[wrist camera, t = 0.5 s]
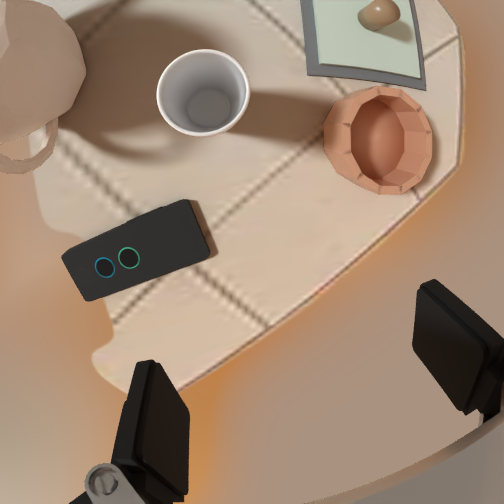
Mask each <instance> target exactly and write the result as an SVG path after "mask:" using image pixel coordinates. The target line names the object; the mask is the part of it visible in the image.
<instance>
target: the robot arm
mask: <svg viewBox="0 0 504 504" xmlns="http://www.w3.org/2000/svg"><path fill="white" fill-rule="evenodd" d="M412 346H413V350H414V352H415V353H416V354H417V356H418V357H419V358H420V360H421V361H422V362H423V363H424V365H425V366H426V367H427V369H428V370H429V372H430V373H431V374H432V375H433V377H434V378H435V380H436V381H437V382H438V384H439V385H440V386H441V388H442V389H443V390H444V392H445V393H446V394H447V396H448V397H449V399H450V400H451V401H452V403H453V404H454V406H455V407H456V408H457V410H459V411H463V413H464V414H465V415H468V414H469V413H471V412H472V411H474V410H476V409H478V411H479V412H480V418H479V425H478V428H476V429H475V430H473V431H472V432H470V433H468V434H467V435H465V436H464V437H462V438H460V439H459V440H457V441H455V442H454V443H453V444H450V445H449V446H447V447H445V448H443V449H442V450H440V451H438V452H436V453H434V454H432V455H431V456H429V457H427V458H425V459H423V460H421V461H419V462H417V463H415V464H413V465H411V466H409V467H406V468H404V469H402V470H400V471H398V472H395V473H393V474H391V475H389V476H386V477H384V478H381V479H379V480H376V481H374V482H371V483H369V484H366V485H363V486H361V487H358V488H355V489H352V490H349V491H346V492H343V493H340V494H337V495H334V496H330V497H327V498H324V499H320V500H316V501H312V502H309V503H304V504H504V338H502V337H501V336H500V335H499V334H498V333H497V332H496V331H495V330H494V329H493V328H492V327H491V326H490V325H488V324H487V323H486V322H485V321H484V320H483V319H482V318H481V317H480V316H479V315H478V314H476V313H475V312H474V311H473V310H472V309H471V308H470V307H468V306H467V305H466V304H465V303H463V301H461V300H460V299H459V298H458V297H457V296H456V295H454V294H453V293H452V292H451V291H450V290H448V289H447V288H446V287H445V286H444V285H442V284H441V283H440V282H439V281H437V280H436V279H432V280H430V281H427V282H425V283H422V284H421V285H420V289H418V291H417V298H416V311H415V322H414V332H413V341H412ZM189 427H190V414H189V411H188V408H187V406H186V405H185V403H184V402H183V400H182V399H181V397H180V395H179V394H178V392H177V391H176V389H175V387H174V386H173V384H172V382H171V381H170V379H169V377H168V376H167V374H166V372H165V371H164V369H163V367H162V366H161V364H160V363H156V362H155V361H154V360H146V361H140V362H137V363H136V366H135V370H134V374H133V377H132V381H131V385H130V389H129V393H128V397H127V400H126V401H125V403H124V406H123V409H122V413H121V417H120V422H119V426H118V431H117V436H116V440H115V444H114V449H113V454H112V459H111V464H109V463H103V464H98V465H96V466H94V467H93V468H92V469H91V470H90V471H89V472H88V474H87V475H86V479H85V489H86V491H85V492H84V493H83V494H81V495H80V496H78V497H77V498H76V499H74V500H73V501H72V502H70V503H69V504H173V502H184V495H187V494H188V475H189V474H188V470H189V429H190V428H189Z"/></svg>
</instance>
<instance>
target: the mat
mask: <svg viewBox="0 0 504 504" xmlns="http://www.w3.org/2000/svg"><path fill="white" fill-rule="evenodd" d="M300 2H301V11H302V20H303V30H304V40H305V51H306V64H307V75H312V76H328V77H340V78H351V79H360V80H368V81H375V82H382V83H388V84H394V85H400V86H406V87H411V88H416V89H421V90H426V86H425V74H424V64H423V55H422V48H421V41H420V34H419V28H418V22H417V17H416V12H415V7H414V2H413V0H409V3H410V8H411V13H412V18H413V24H414V30H415V36H416V43H417V51H418V59H419V68H420V78H418V79H417V78H412V77H407V76H402V75H397V74H392V73H386V72H380V71H374V70H368V69H360V68H352V67H344V66H334V65H322V64H319V56H318V45H317V35H316V25H315V17H314V8H313V0H300Z"/></svg>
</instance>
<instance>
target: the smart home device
mask: <svg viewBox="0 0 504 504" xmlns="http://www.w3.org/2000/svg"><path fill="white" fill-rule="evenodd" d="M209 255H210V250H209V247H208V245H207V243H206V240H205V238H204V236H203V233H202V231H201V228H200V226H199V224H198V221H197V219H196V216H195V214H194V211H193V209H192V207H191V204H190V202H189V200H187V199H183V200H179V201H177V202H174V203H172V204H169V205H167V206H164V207H159V208H157V209H155V210H152V211H150V212H147V213H145V214H143V215H140V216H138V217H136V218H134V219H131V220H129V221H127V223H124V224H122V225H120V226H118V227H116V228H113V229H111V230H109V231H107V232H105V233H102V234H100V235H98V236H96V237H94V238H92V239H90V240H87V241H85V242H82V243H80V244H78V245H76V246H74V247H72V248H70V249H68V250H67V251H66V252H65V253H64V254H63V255H62V257H61V258H62V260H63V262H64V264H65V266H66V268H67V270H68V272H69V273H70V275H71V277H72V279H73V280H74V282H75V284H76V286H77V288H78V289H79V291H80V293H81V294H82V296H83V298H84V299H85V301H93V300H96V299H99V298H102V297H104V296H107V295H110V294H112V293H115V292H118V291H120V290H123V289H126V288H128V287H131V286H134V285H137V284H139V283H142V282H145V281H148V280H150V279H153V278H156V277H158V276H161V275H164V274H167V273H169V272H172V271H175V270H178V269H180V268H183V267H186V266H189V265H191V264H194V263H197V262H200V261H202V260H205V259H206V258H208V257H209Z"/></svg>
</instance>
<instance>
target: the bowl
mask: <svg viewBox="0 0 504 504" xmlns="http://www.w3.org/2000/svg"><path fill="white" fill-rule="evenodd" d="M323 135H324V151H325V153H326V155H327V157H328V158H329V160H330V162H331V164H332V165H333V167H334V169H335V171H336V173H338V174H339V175H341V176H343V177H344V178H346V179H348V180H349V181H351V182H352V183H354V184H356V185H358V186H360V187H362V188H364V189H367V190H369V191H371V192H374V193H376V194H378V195H380V194H403V193H404V192H405V191H407V190H408V189H410V188H411V187H413V186H414V185H415V184H417V183H418V182H420V181H421V179H422V177H423V175H424V173H425V171H426V169H427V167H428V165H429V163H430V161H431V159H432V130H431V127H430V125H429V123H428V120H427V118H426V116H425V113H424V111H423V109H422V107H421V106H420V105H419V104H418V103H417V102H416V101H415V100H413V99H412V98H411V97H410V96H409V95H407V94H406V93H405V92H404V91H403V90H401V89H395V88H388V87H382V86H374V87H370V88H366V89H361V90H357V91H354V92H352V93H350V94H349V95H347V96H345V97H343V98H341V99H339V100H337V101H336V102H334V104H333V106H332V108H331V110H330V112H329V114H328V116H327V118H326V119H325V121H324V123H323Z"/></svg>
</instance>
